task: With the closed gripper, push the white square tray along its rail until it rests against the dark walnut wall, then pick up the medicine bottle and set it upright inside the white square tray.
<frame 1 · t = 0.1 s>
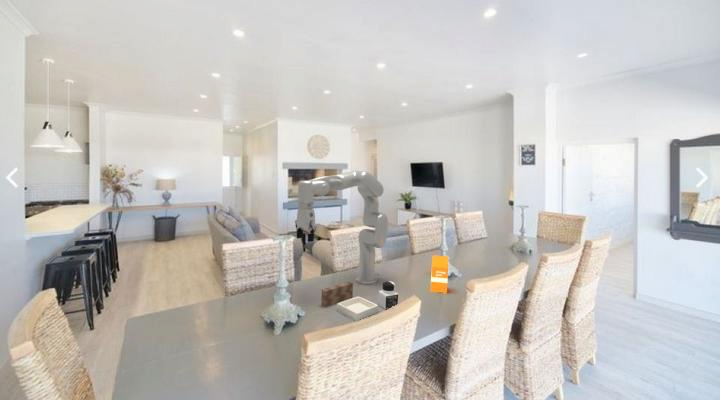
hand: (305, 239, 161), 31 cm above the table, tool pointing down, fingers open, 9 cm apart
medicine bottle: (387, 306, 161), on the table
white square tray: (357, 308, 153), point 2 cm above the table, slide at 6.0 cm
backstop wall: (337, 301, 164), on the table
orange juice: (438, 290, 184), on the table
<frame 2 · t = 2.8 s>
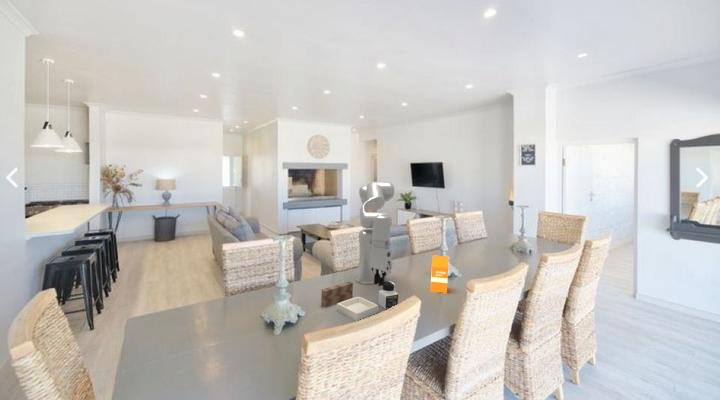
hand: (379, 284, 142), 17 cm above the table, tool pointing down, fingers closed
nothing on the table moved.
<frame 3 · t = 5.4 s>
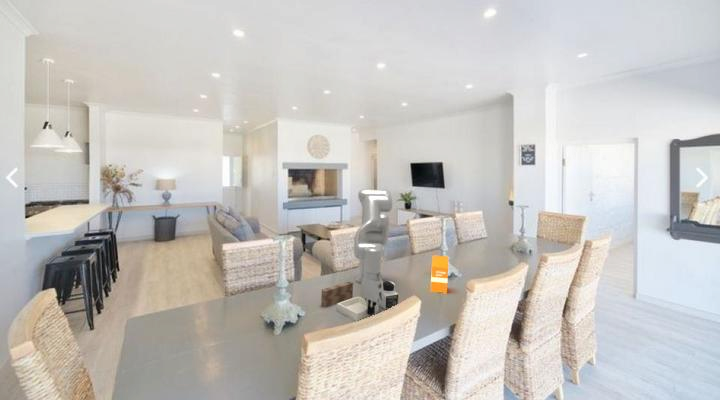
hand: (370, 313, 147), 2 cm above the table, tool pointing down, fingers closed
white square tray: (357, 307, 153), point 2 cm above the table, slide at 5.9 cm, touching gripper
everything else where it was.
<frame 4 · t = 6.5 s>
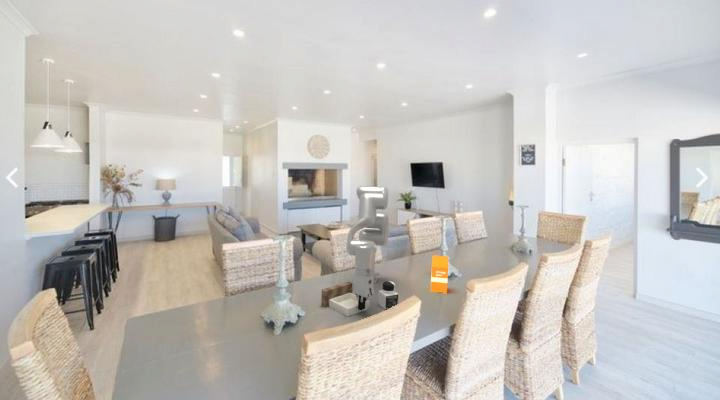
hand: (361, 309, 151), 2 cm above the table, tool pointing down, fingers closed
white square tray: (349, 303, 157), point 2 cm above the table, slide at -0.1 cm, touching gripper
everything else where it was.
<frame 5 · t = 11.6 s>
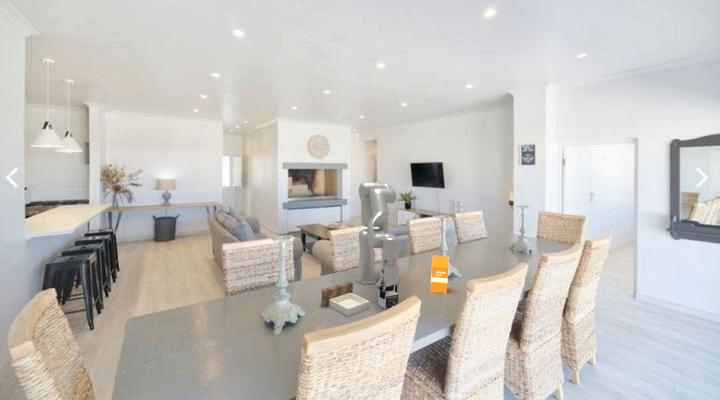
hand: (388, 295, 160), 5 cm above the table, tool pointing down, fingers closed on medicine bottle, 8 cm apart
medicine bottle: (387, 306, 161), on the table, touching gripper
white square tray: (349, 303, 157), point 2 cm above the table, slide at 0.0 cm
everything else where it was.
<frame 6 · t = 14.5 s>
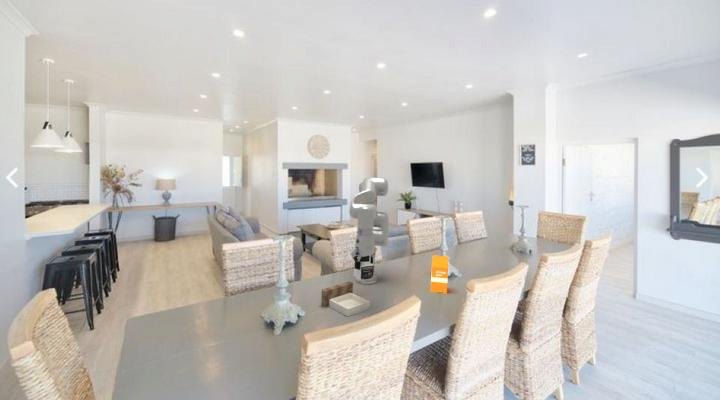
hand: (363, 267, 157), 20 cm above the table, tool pointing down, fingers closed on medicine bottle, 8 cm apart
medicine bottle: (363, 278, 157), point 15 cm above the table, touching gripper
everything else where it was.
when the fingers open (7 cm above the table, at t = 17.8 s): medicine bottle stays where it is, resting on white square tray.
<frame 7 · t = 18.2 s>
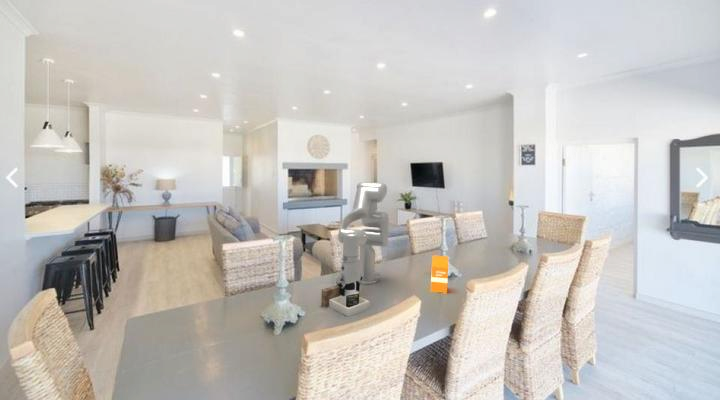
hand: (349, 292, 157), 7 cm above the table, tool pointing down, fingers open, 9 cm apart
medicine bottle: (349, 305, 158), point 1 cm above the table, touching white square tray
white square tray: (349, 303, 157), point 2 cm above the table, slide at 0.0 cm, touching medicine bottle
everything else where it was.
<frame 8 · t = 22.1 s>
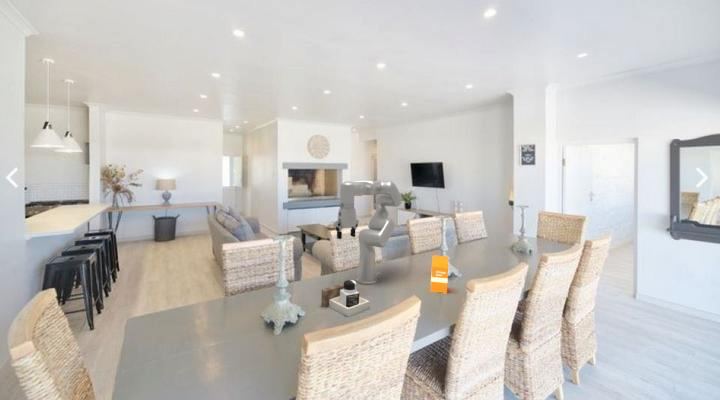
hand: (346, 237, 174), 30 cm above the table, tool pointing down, fingers open, 9 cm apart
nothing on the table moved.
at the end: white square tray slide at 0.0 cm; medicine bottle 0.1 cm off-centre on the white square tray, point 0.8 cm above the white square tray's base; medicine bottle tilted 0° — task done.
